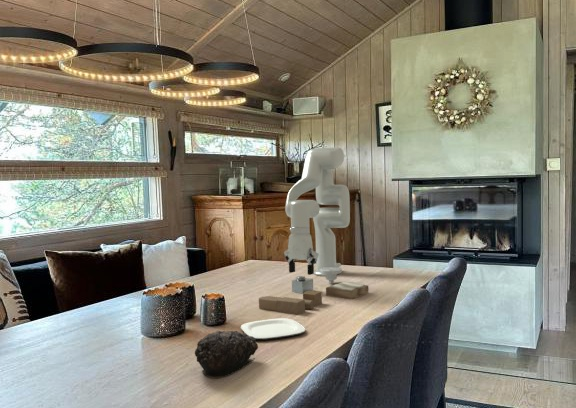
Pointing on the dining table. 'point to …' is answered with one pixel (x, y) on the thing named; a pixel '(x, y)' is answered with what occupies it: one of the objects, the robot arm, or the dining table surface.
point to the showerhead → (331, 273)
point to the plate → (272, 328)
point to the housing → (302, 285)
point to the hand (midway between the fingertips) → (301, 273)
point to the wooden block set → (291, 303)
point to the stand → (347, 290)
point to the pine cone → (225, 352)
